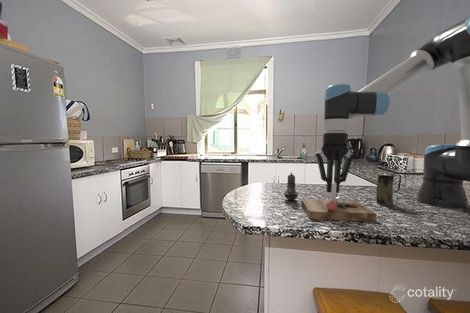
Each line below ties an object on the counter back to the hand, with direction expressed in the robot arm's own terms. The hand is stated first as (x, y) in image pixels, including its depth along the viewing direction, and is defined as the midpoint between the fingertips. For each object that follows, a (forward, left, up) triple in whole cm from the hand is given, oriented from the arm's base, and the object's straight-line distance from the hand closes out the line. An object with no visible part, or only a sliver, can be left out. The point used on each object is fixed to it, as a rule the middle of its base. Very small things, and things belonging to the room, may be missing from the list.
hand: (332, 201), depth 77 cm
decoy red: (+2, +5, 0) cm, 6 cm away
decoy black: (-2, -6, 0) cm, 6 cm away
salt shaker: (+12, -13, -4) cm, 18 cm away
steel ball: (-2, 0, 0) cm, 2 cm away
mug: (-25, -13, -4) cm, 29 cm away
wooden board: (-1, 0, -4) cm, 4 cm away
